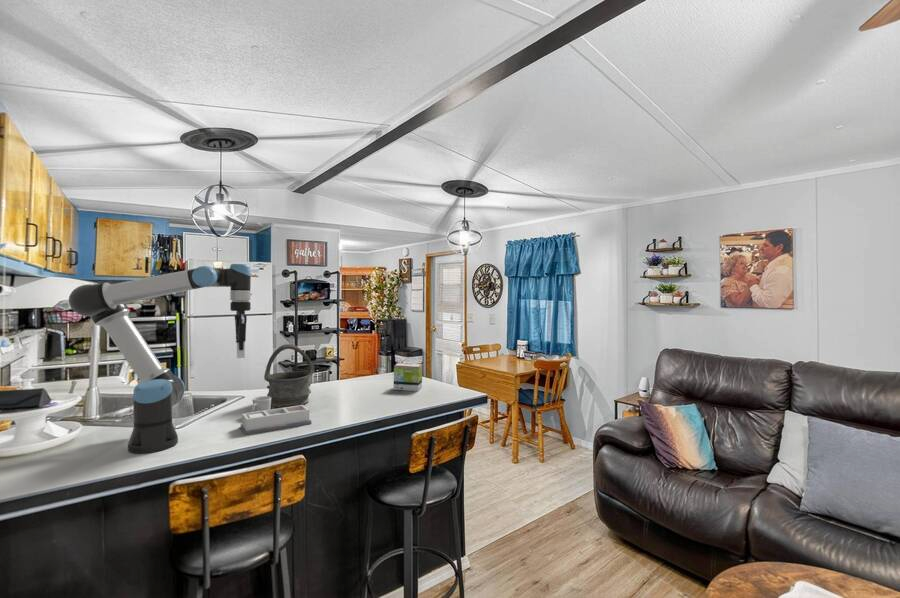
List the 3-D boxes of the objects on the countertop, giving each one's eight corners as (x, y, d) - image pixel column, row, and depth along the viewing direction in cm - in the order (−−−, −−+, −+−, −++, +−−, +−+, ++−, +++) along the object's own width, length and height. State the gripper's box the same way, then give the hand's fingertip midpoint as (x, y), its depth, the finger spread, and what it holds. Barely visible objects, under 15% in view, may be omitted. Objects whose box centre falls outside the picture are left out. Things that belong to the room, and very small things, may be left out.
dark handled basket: (274, 397, 228) (274, 342, 227) (318, 397, 228) (318, 342, 228) (257, 409, 206) (257, 347, 205) (305, 409, 206) (305, 347, 206)
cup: (260, 420, 188) (260, 402, 188) (244, 419, 190) (244, 401, 189) (274, 413, 199) (274, 396, 198) (259, 412, 200) (259, 395, 200)
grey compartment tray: (245, 435, 169) (245, 420, 169) (240, 427, 179) (240, 413, 178) (311, 423, 184) (311, 410, 184) (303, 416, 194) (303, 404, 193)
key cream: (250, 422, 173) (250, 417, 173) (248, 419, 177) (248, 414, 177) (263, 420, 176) (263, 415, 176) (261, 417, 180) (261, 413, 180)
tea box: (393, 390, 246) (393, 365, 246) (398, 386, 256) (398, 362, 256) (418, 391, 244) (418, 366, 244) (422, 387, 254) (422, 363, 254)
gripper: (253, 301, 174) (253, 359, 174) (247, 300, 184) (247, 355, 185) (233, 301, 169) (233, 360, 170) (228, 300, 180) (228, 356, 180)
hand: (240, 357), depth 177 cm, fingers closed
